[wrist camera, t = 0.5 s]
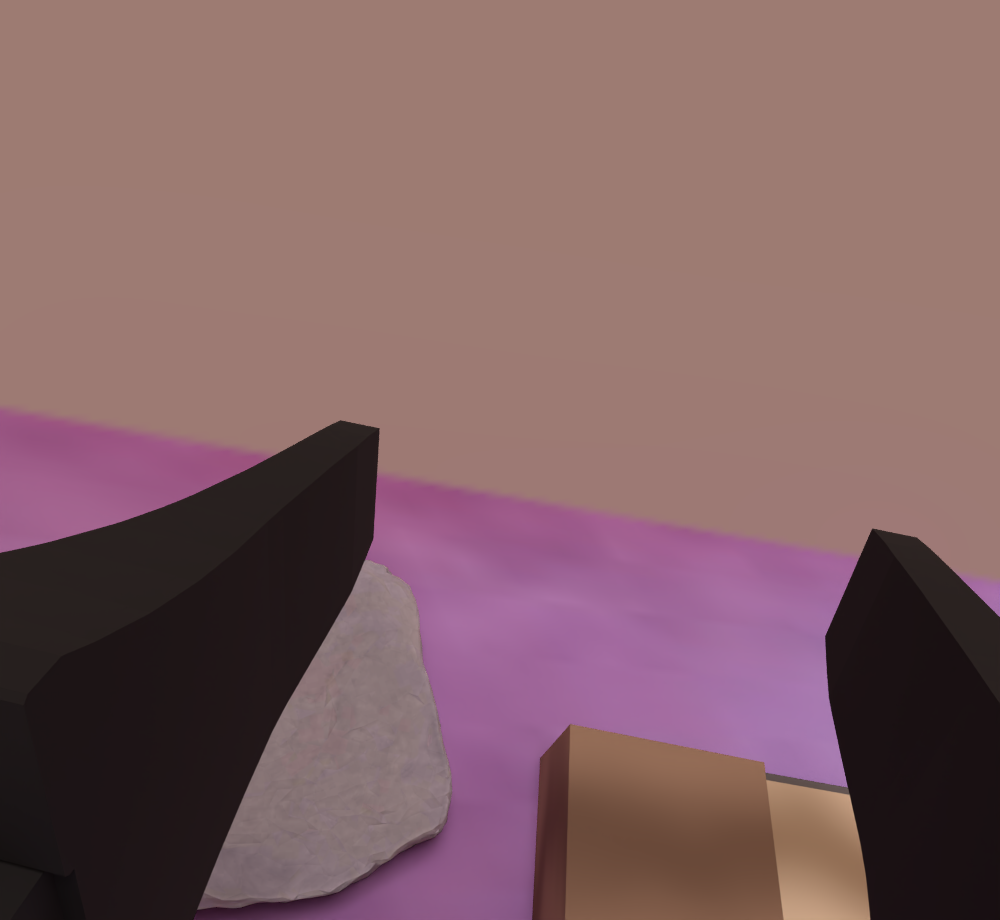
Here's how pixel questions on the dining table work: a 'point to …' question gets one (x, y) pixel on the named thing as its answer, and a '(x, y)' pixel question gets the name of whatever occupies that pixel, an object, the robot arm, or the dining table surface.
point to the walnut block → (651, 833)
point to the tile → (817, 851)
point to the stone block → (343, 761)
